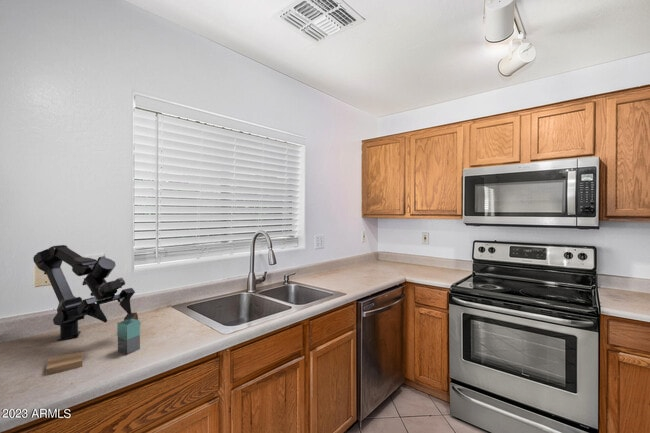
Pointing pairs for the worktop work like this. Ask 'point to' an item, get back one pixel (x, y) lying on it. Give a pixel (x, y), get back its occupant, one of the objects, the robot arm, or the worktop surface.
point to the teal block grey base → (128, 336)
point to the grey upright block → (131, 316)
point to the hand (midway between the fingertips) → (118, 317)
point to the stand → (64, 362)
